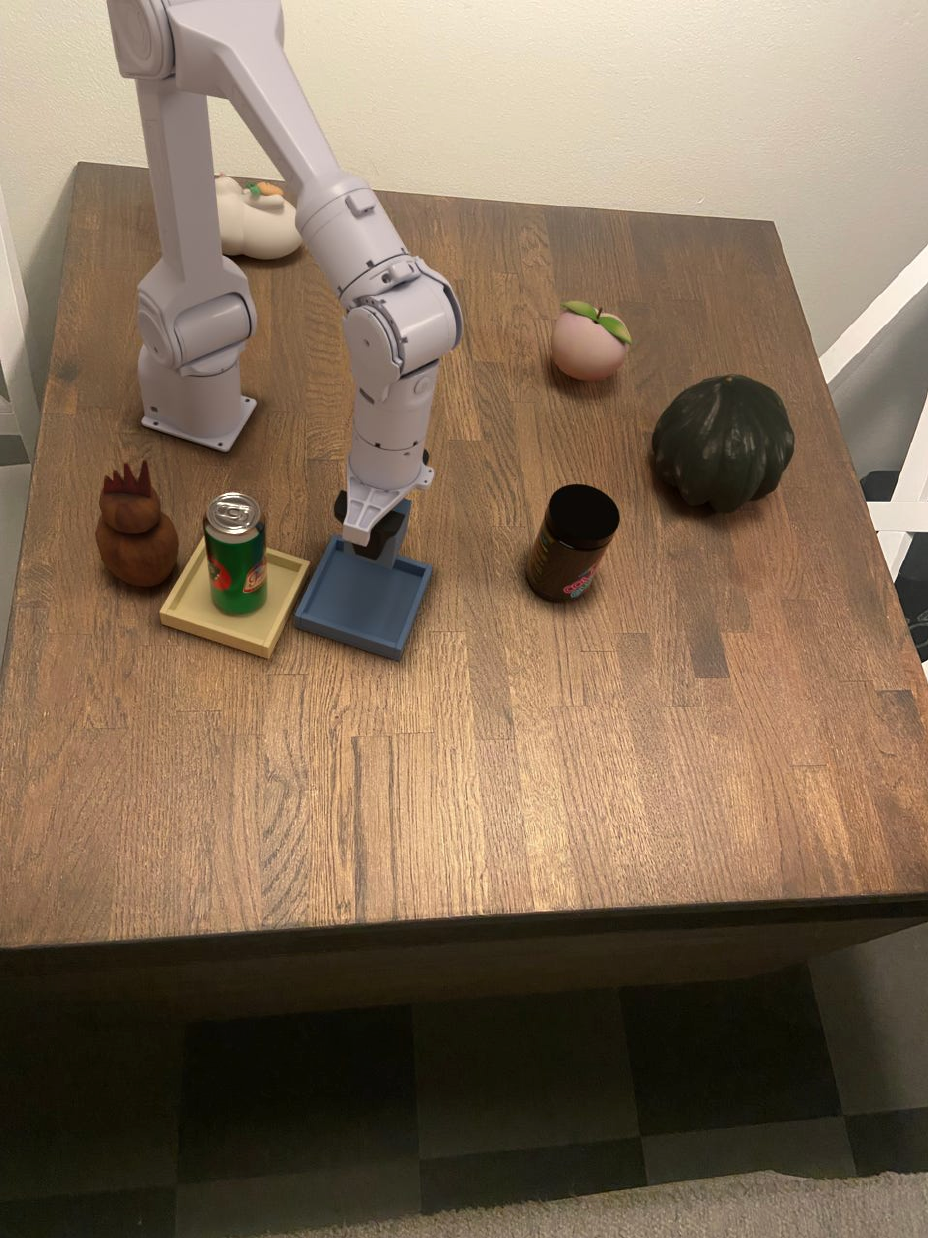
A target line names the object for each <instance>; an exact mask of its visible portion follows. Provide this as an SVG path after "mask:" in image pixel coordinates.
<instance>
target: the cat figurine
mask: <svg viewBox="0 0 928 1238" xmlns="http://www.w3.org/2000/svg"><path fill="white" fill-rule="evenodd" d="M244 184H245V186H246V188H243V187H242V186H241V185H240V184H239V183H238V181H236V180H235V179H234V178H232V177H230V176H227V175H226V173H225V172H224V171H223V172H222V171H221V172H220V173H219V174H218V177H216V178H215V186H216V196H217V207H218V217H219V227H220V237H221V247H222V255H224V256H240V255H244V256H247V257H250V258H253V259H256V260H264V261H265V260H276V259H280V258H284V257H286V256H289V255H290V254H292V253H293V252H295V251H296V250H298V248H299V247H300V246H301V245H302V243H303V242H304V241H303V239H302V237H301V236H300V234H299V232H298V231H297V229H296V227H295V215H296V209H297V208H296V207H294V205H293V204H291V203H290V202H289V201H287V200H286V199H284V197H283V195H284V191H283V190H282V189H281V188H280V187H278V186H276V185H274V184H272V183H269V182H268V181H267V182H266V181H259V182H258V183H257V184H255V183H254V182H253V181H251V182H249V181H246V182H244Z"/></svg>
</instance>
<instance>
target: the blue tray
mask: <svg viewBox="0 0 928 1238" xmlns="http://www.w3.org/2000/svg"><path fill="white" fill-rule="evenodd" d="M344 541H345V540H343V539H342V535H340V534H336V533H333V534H332V535H331V537H330V540H329V541H328V543H327V546H326V548H325V549H324V552H323V554H322V556H321V557H320V560H319V563H318V565H317V566H316V569H315V570H314V573H313V575H312V577H311V579H310V581H309V584H308V586H307V588H306V590H305V592H304V593H303V596H302V598H301V600H300V602H299V605H298V606H297V609H296V611H295V613H294V617H293V624H294V625H293V627H294V628H295V629H299V630H302V631H304V632H305V631H306V632H308V633H311V634H315V635H317V636H320V637H324V638H327V639H329V640H332V641H335V642H338V643H342V644H345V645H348V646H351V647H354V648H358V649H360V650H363V651H366V652H369V653H372V654H376V655H379V656H381V657H384V658H388V659H391V660H394V661H397V662H400V660H401V658H402V655H403V652H404V650H405V647H406V645H407V642H408V639H409V637H410V634H411V632H412V630H413V629H412V628H413V626H414V623H415V621H416V618H417V616H418V613H419V610H420V609H421V605H422V602H423V600H424V598H425V594H426V591H427V589H428V586H429V584H430V582H431V578H432V574H433V570H434V565H432V564H428V563H425V562H424V561H423V562H422V561H419V560H416V559H413V558H410V557H407V556H405V555H401V554H398V555H397V557H396V560H395V562H394V564H393V567H392V569H389V568H386V567H383V566H379V565H376V564H373V563H370V562H367V561H364V560H361V559H358V558H355V557H352V556H349V555H345V554H343V552H344Z"/></svg>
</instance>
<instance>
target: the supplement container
mask: <svg viewBox="0 0 928 1238" xmlns="http://www.w3.org/2000/svg"><path fill="white" fill-rule="evenodd" d="M620 515H621V514H620V510H619V508H618V505H617V503H616V502H615V501H614V500H613V499H612V497H610V496H609V495H608V493H606V492H604V491H603V490H601V489H600V488H597V487H595V486H592V485H588V484H584V483H583V484H582V483H570V484H566V485H564V486H561V487H559V488H557V489H556V490H555V491H554V492H553V493H552V495H551V496H550V498H549V500H548V504H547V505H546V507H545V511H544V516H543V518H542V521H541V523H540V526H539V529H538V532H537V535H536V538H535V540H534V543H533V545H532V548H531V551H530V554H529V557H528V560H527V562H526V566H525V572H526V577H527V581H528V583H529V585H530V586H531V587H532V589H533V590H534V591H535V592H536V593H537V594H538V595H540V596H542V597H543V598H545V599H547V600H550V601H554V602H558V603H559V602H560V603H565V602H566V603H567V602H571V601H574V600H577V599H579V598H581V597H582V596H583V595H584V594H586V593H587V591H588V589H589V587H590V586H591V584H592V581H593V579H594V577H595V575H596V573H597V571H598V569H599V566H600V564H601V562H602V560H603V558H604V556H605V554H606V552H607V549H608V548H609V546H610V543H611V542H612V540H613V539H614V537H615V534H616V532H617V530H618V528H619V525H620V522H621V517H620Z"/></svg>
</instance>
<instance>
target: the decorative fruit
mask: <svg viewBox="0 0 928 1238" xmlns="http://www.w3.org/2000/svg"><path fill="white" fill-rule="evenodd" d="M560 306H561V307H563V308H565V310H564V311H563V312H562V313H561V314H560V315H559V316H558V318H557V319H556V320H555V323H554V325H553V328H552V330H551V335H550V351H551V356H552V359H553V361H554V363H555V364H556V366H557V367H558V368H559V369H560V371H562V372H563V373H564V374H566V375H567V376H569V377H571V378H573V379H576V380H579V381H582V382H590V383H591V382H592V383H593V382H599V381H603V380H604V379H606V378H609V377H610V376H611V375H613V374H614V373H616V371H617V370H618V369H619V368H620V367H621V366H622V365H623V363H624V362H625V360H626V358H627V356H628V352H629V349H630V346H633V340H632V336H631V334H630V332H629V330H628V328H627V326H626V324H625V323H624V322H623V321H622V320H621V319H620V318H619V317H618V316H617V315H615V314H613V313H612V314H611V313H606V312H603V310H604V309H603V306H601V307H599V310H598V309H597V308H596V307H594V306H592V305H591V304H589V303H587V302H585V301H582V300H570V301H569V300H568V301H565V302H562V303H560Z"/></svg>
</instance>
